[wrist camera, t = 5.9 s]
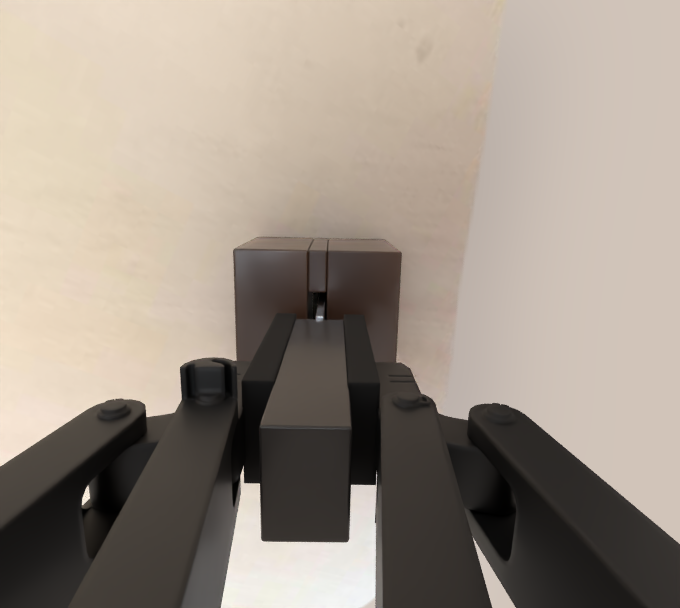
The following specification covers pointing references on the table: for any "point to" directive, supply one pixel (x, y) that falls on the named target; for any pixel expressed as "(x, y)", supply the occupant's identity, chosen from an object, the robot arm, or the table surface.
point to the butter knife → (308, 437)
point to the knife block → (317, 287)
